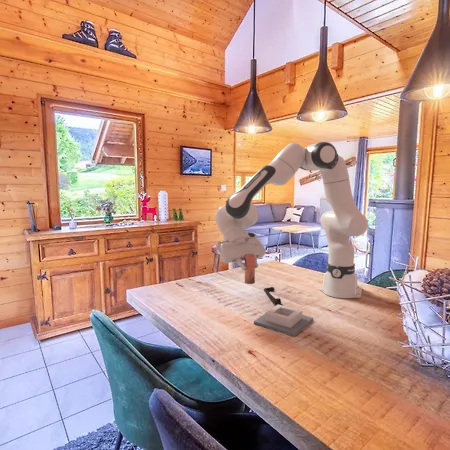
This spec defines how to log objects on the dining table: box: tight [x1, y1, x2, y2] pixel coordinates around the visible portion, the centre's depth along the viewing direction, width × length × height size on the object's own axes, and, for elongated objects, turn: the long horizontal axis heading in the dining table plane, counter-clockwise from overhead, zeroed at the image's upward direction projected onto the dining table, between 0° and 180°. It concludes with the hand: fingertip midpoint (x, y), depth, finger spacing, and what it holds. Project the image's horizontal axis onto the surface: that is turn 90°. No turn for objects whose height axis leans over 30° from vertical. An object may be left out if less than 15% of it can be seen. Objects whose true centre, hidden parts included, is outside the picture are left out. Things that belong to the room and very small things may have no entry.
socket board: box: [253, 305, 314, 337], centre depth 111 cm, size 16×16×4 cm
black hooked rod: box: [263, 286, 284, 307], centre depth 132 cm, size 5×5×30 cm
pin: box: [244, 254, 256, 285], centre depth 118 cm, size 4×4×11 cm
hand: (250, 268), depth 118 cm, fingers closed on pin, 4 cm apart
